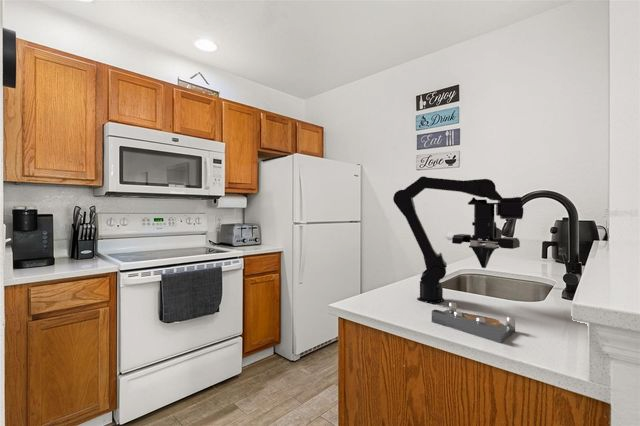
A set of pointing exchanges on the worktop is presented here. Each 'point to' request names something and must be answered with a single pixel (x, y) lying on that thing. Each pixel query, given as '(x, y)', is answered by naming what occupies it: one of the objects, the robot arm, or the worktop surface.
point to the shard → (487, 320)
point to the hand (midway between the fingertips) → (483, 267)
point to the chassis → (473, 324)
